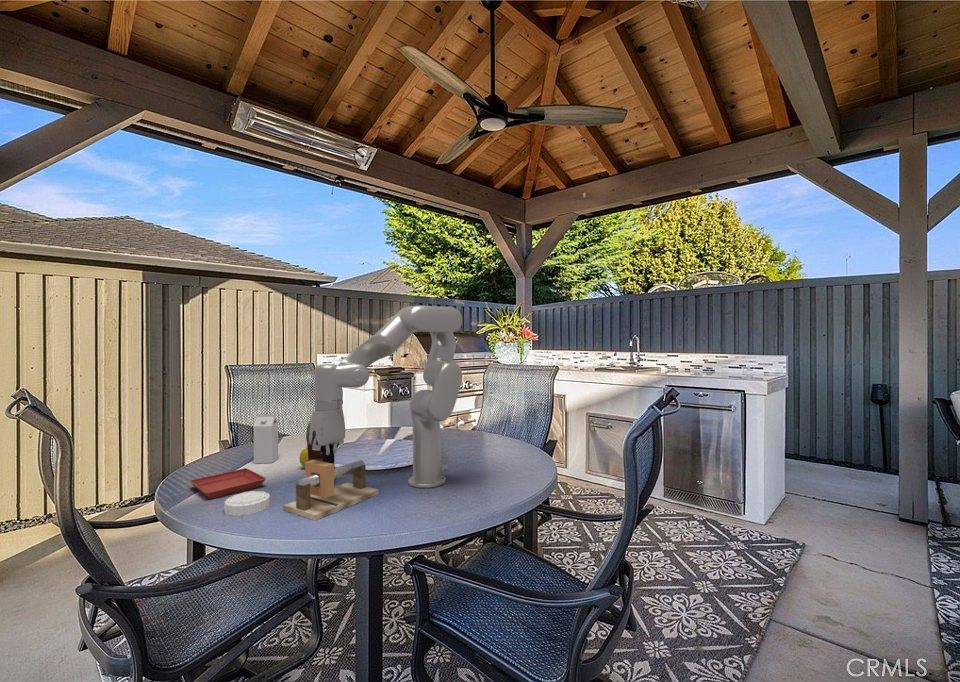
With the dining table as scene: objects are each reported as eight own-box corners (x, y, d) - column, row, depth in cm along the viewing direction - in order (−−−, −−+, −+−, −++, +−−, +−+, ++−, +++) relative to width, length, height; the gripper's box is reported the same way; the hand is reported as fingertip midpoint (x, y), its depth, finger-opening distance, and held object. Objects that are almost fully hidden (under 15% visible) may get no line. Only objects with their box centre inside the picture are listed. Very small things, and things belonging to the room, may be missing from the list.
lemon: (296, 469, 170) (296, 448, 170) (306, 465, 175) (306, 445, 175) (308, 471, 168) (307, 449, 168) (318, 467, 173) (318, 446, 173)
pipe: (358, 468, 147) (357, 459, 147) (365, 470, 145) (364, 460, 145) (296, 489, 127) (296, 478, 127) (303, 491, 126) (303, 479, 126)
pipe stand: (347, 486, 150) (347, 461, 150) (378, 494, 143) (378, 467, 143) (283, 510, 130) (282, 481, 130) (315, 520, 122) (314, 489, 122)
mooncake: (262, 498, 141) (262, 486, 141) (276, 508, 132) (276, 496, 132) (219, 508, 132) (219, 496, 132) (230, 520, 124) (230, 507, 124)
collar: (313, 489, 136) (313, 459, 136) (334, 494, 131) (333, 463, 131) (305, 492, 133) (305, 462, 133) (325, 498, 128) (325, 466, 128)
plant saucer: (206, 503, 137) (206, 492, 137) (188, 489, 150) (188, 479, 150) (267, 488, 151) (267, 478, 151) (246, 477, 163) (246, 467, 163)
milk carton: (260, 459, 185) (259, 413, 185) (278, 458, 186) (278, 412, 186) (253, 464, 178) (253, 416, 178) (272, 463, 179) (271, 415, 179)
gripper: (339, 401, 143) (339, 459, 143) (298, 408, 130) (299, 471, 130) (355, 403, 139) (356, 462, 139) (315, 410, 126) (316, 475, 126)
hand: (328, 466), depth 135 cm, fingers closed
